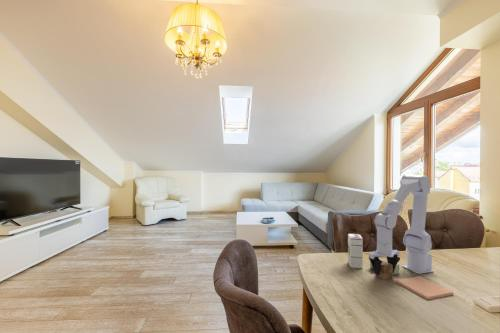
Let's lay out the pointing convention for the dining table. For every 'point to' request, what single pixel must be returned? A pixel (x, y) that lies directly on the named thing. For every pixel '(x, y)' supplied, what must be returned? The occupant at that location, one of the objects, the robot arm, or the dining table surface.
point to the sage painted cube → (396, 269)
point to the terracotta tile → (424, 287)
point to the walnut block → (386, 271)
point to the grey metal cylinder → (371, 266)
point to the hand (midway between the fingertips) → (383, 273)
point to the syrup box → (355, 251)
